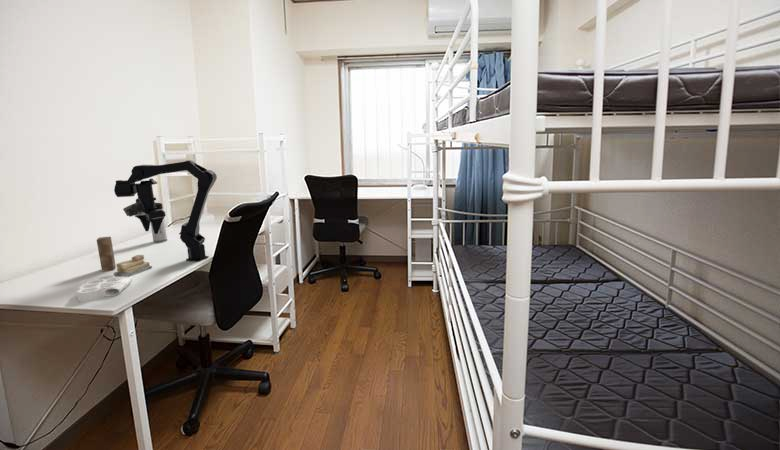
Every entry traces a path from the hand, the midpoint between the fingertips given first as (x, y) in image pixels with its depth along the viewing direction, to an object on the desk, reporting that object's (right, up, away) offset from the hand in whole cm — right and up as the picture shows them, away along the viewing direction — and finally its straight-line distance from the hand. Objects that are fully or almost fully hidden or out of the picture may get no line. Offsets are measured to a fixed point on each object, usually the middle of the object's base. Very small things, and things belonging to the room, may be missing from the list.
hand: (151, 232), depth 173 cm
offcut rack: (-1, -15, -10) cm, 18 cm away
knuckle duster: (+1, -20, -30) cm, 36 cm away
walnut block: (-13, -15, -7) cm, 21 cm away
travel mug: (-17, -5, +38) cm, 42 cm away
